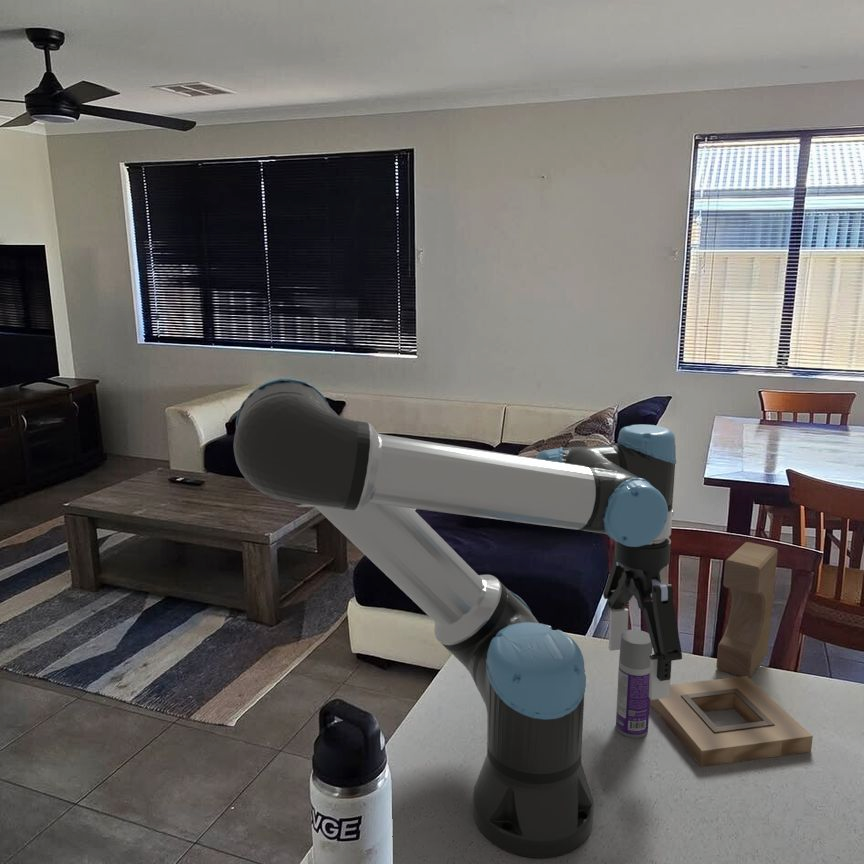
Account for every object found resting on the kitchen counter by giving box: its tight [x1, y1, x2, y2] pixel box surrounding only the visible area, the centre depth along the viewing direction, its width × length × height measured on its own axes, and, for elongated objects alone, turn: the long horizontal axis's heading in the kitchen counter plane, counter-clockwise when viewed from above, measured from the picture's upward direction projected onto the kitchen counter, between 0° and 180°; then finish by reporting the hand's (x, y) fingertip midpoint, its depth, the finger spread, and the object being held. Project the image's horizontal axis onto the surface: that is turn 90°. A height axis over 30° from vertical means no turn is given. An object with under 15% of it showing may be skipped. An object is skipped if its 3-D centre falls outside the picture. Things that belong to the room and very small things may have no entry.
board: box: [650, 676, 814, 768], centre depth 113 cm, size 17×16×3 cm
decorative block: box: [716, 541, 779, 679], centre depth 128 cm, size 11×6×20 cm, turn 140°
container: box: [615, 629, 653, 739], centre depth 111 cm, size 5×5×15 cm
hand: (637, 671), depth 110 cm, fingers open, 13 cm apart
